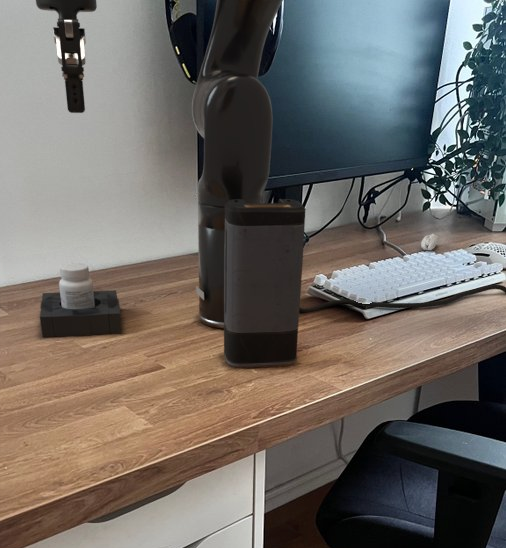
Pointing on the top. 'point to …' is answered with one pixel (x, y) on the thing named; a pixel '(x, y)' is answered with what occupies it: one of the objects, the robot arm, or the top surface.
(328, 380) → the top surface
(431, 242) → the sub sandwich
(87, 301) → the pill bottle
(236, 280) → the electronic device
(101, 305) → the socket plate
